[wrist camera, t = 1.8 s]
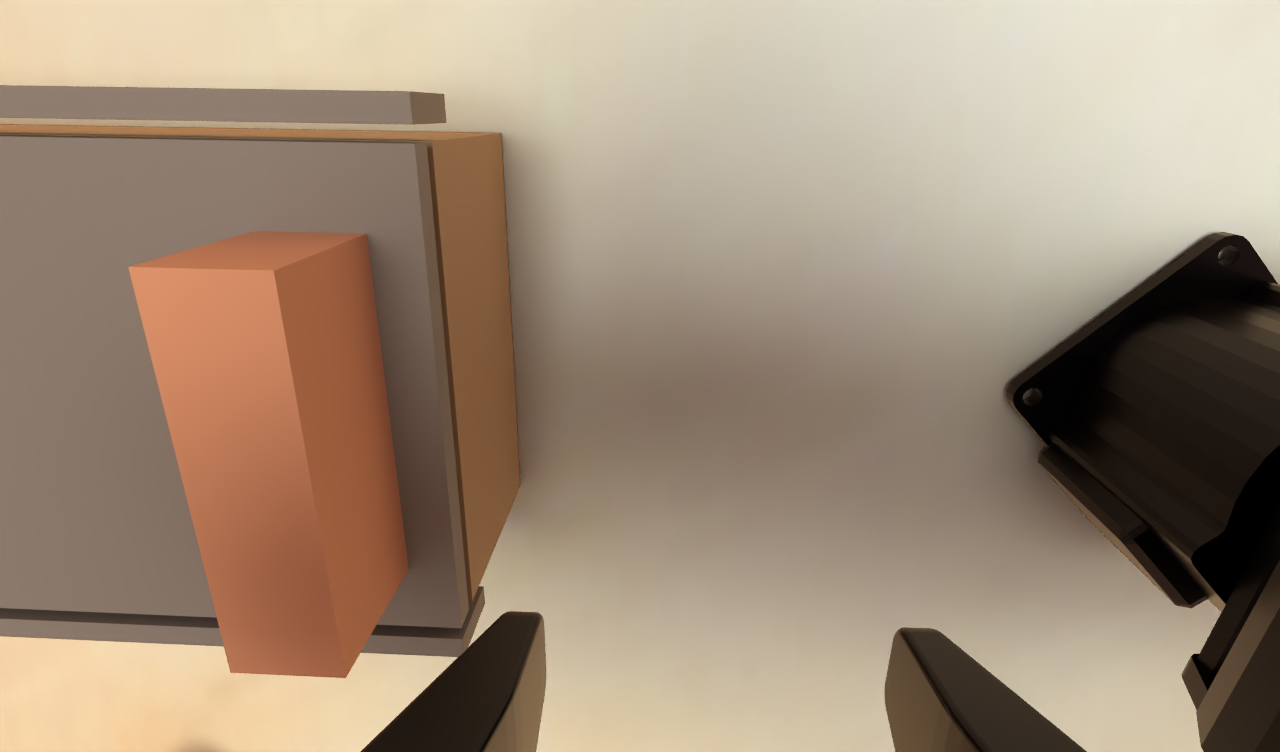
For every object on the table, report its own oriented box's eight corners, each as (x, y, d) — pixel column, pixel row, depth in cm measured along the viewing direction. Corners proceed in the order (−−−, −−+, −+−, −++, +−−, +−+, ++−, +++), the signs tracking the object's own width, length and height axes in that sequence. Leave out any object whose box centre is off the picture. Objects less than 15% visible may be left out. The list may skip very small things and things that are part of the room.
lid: (443, 93, 13) (321, 84, 8) (484, 603, 17) (417, 779, 13) (-322, 82, 13) (-818, 68, 9) (-101, 578, 18) (-366, 738, 13)
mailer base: (501, 132, 17) (432, 141, 12) (520, 484, 21) (472, 600, 16) (-77, 123, 18) (-366, 127, 13) (38, 467, 21) (-152, 574, 16)
